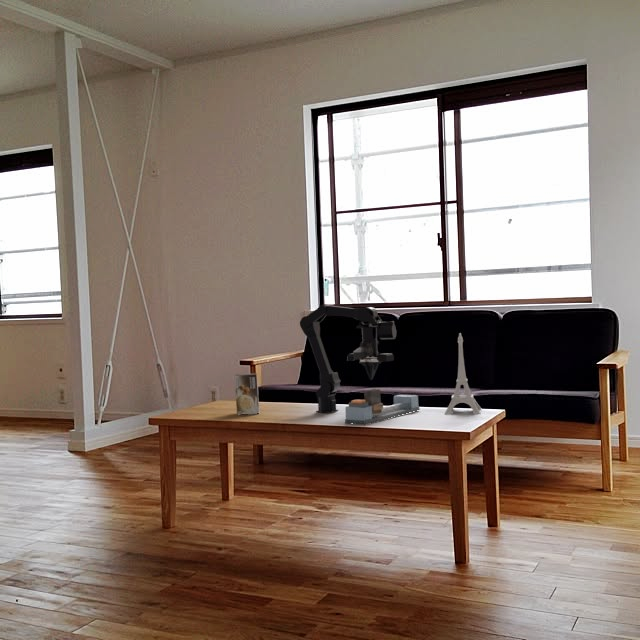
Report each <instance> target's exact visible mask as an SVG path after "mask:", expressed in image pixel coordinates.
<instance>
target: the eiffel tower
mask: <svg viewBox="0 0 640 640" xmlns="http://www.w3.org/2000/svg"><path fill="white" fill-rule="evenodd" d="M463 342H464V339H463V336H462V333H461V332H460V333H458V337H457V343H458V366H457V379H456V380H455V381H456V385H455V390H454V393H453V394H452V395H451V400H450V403H449V405H447V408H446V409H445V412H443V415H452V411H454V410H455V408H454V407H455V406H456V405H458V404H460V403H461V404H462V403H464V404H466V405H468V406H469V407H470V408H471V409H472V415H481V411H482V409H483V408H482V407H481V406H480V404H478V402H477V401H476V399H475V398H474V394H472V391H471V389H470V386H469V383H468V378H467V376H466V374H467V373H466V367H465V359H464V348H463V344H464V343H463ZM462 385H463V389H464V393H465V394H460V390H461V386H462Z"/></svg>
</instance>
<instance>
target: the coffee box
mask: <svg viewBox="0 0 640 640" xmlns="http://www.w3.org/2000/svg"><path fill="white" fill-rule="evenodd" d="M234 386H235V387H234V389H235V404H236V405H235V406H236V415H237V414H248V415H258V414H257V413H259V414H260V401H259V400H260V399H259V385H258V373H239V374H237V373H236V374H234Z"/></svg>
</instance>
